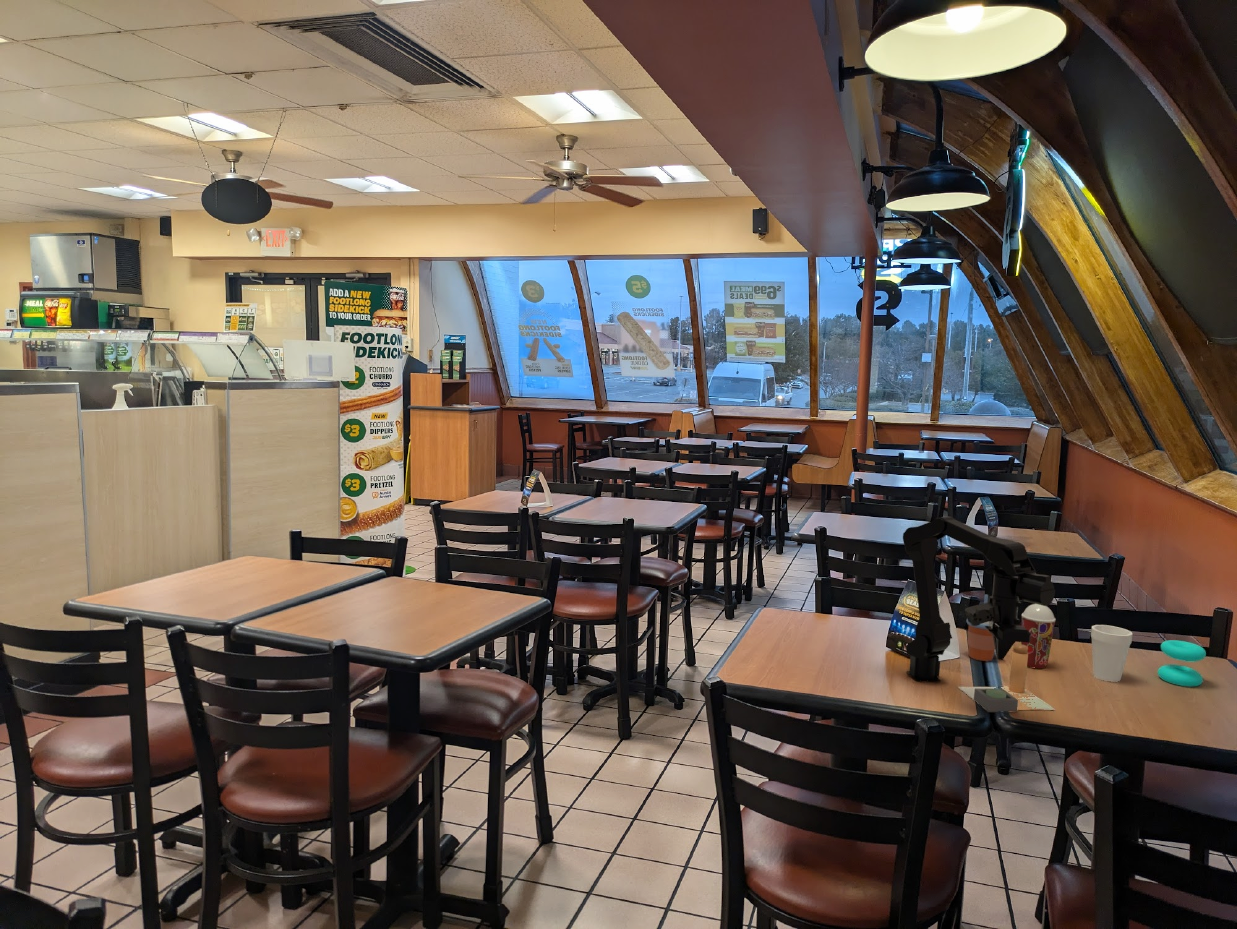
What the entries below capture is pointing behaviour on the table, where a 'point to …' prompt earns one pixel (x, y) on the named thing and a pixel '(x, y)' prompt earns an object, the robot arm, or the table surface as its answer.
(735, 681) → the table surface
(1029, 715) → the table surface
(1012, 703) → the sheet
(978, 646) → the cup with straw
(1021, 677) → the tan cylindrical piece
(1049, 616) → the smoothie
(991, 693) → the button
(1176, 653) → the donuts
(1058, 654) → the table surface
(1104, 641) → the foam cup
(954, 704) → the table surface
